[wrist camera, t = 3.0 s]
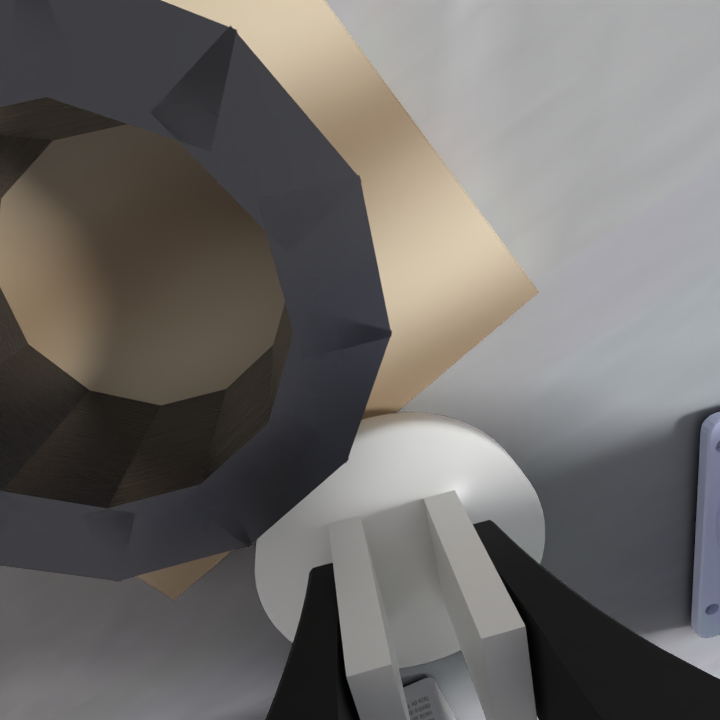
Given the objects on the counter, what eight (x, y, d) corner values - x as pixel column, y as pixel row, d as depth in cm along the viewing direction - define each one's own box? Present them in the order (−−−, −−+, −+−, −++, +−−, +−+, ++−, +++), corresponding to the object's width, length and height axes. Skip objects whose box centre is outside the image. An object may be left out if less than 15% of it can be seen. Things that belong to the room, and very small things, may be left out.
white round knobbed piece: (518, 564, 17) (645, 782, 11) (296, 625, 17) (303, 884, 11) (492, 358, 14) (644, 500, 8) (225, 427, 14) (178, 628, 8)
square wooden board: (521, 283, 14) (538, 291, 13) (180, 574, 15) (173, 600, 14) (122, -253, 9) (103, -301, 8) (-299, 251, 11) (-354, 259, 10)
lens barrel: (385, 405, 13) (425, 499, 9) (34, 495, 13) (-69, 632, 9) (296, -6, 10) (303, -113, 6) (-187, 97, 9) (-500, 50, 6)
